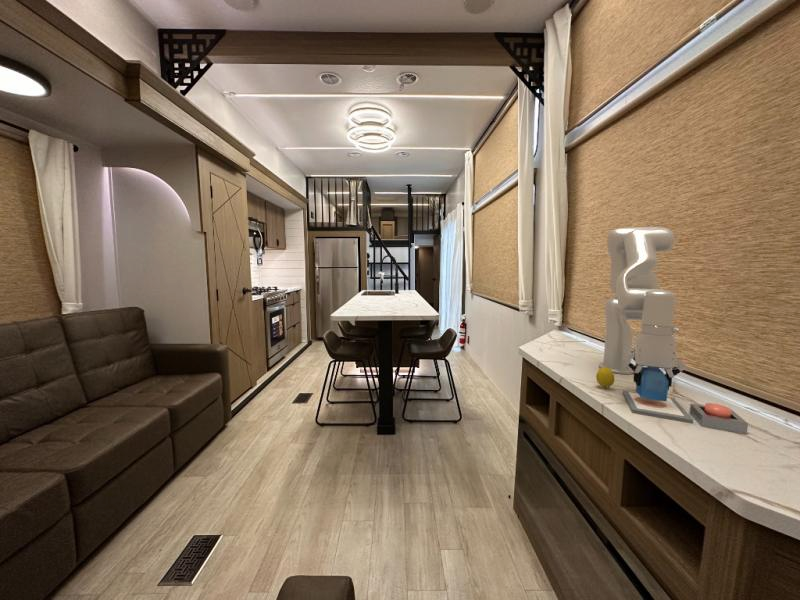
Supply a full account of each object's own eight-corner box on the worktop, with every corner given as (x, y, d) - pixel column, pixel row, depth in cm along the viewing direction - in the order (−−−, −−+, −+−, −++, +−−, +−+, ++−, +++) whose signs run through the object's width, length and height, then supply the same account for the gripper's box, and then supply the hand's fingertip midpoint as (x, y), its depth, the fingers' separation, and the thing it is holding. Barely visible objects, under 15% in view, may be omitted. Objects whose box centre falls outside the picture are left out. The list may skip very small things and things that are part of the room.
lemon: (616, 391, 110) (618, 369, 110) (599, 390, 112) (600, 368, 111) (609, 385, 116) (611, 364, 115) (593, 384, 117) (594, 364, 116)
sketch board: (622, 392, 109) (622, 389, 109) (673, 400, 103) (674, 397, 103) (632, 412, 94) (632, 408, 94) (693, 423, 88) (693, 419, 88)
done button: (701, 410, 91) (702, 401, 91) (725, 414, 89) (726, 405, 89) (708, 417, 87) (709, 409, 87) (734, 422, 84) (735, 413, 84)
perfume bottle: (641, 398, 97) (645, 360, 96) (635, 390, 103) (638, 355, 101) (666, 401, 95) (670, 363, 93) (659, 393, 100) (662, 357, 99)
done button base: (689, 412, 94) (690, 403, 94) (730, 419, 90) (731, 409, 90) (701, 426, 86) (702, 415, 86) (746, 434, 82) (748, 423, 82)
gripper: (688, 331, 96) (683, 387, 98) (620, 326, 104) (616, 378, 106) (698, 335, 89) (692, 395, 91) (624, 330, 97) (620, 385, 99)
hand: (651, 385), depth 98 cm, fingers closed on perfume bottle, 6 cm apart
